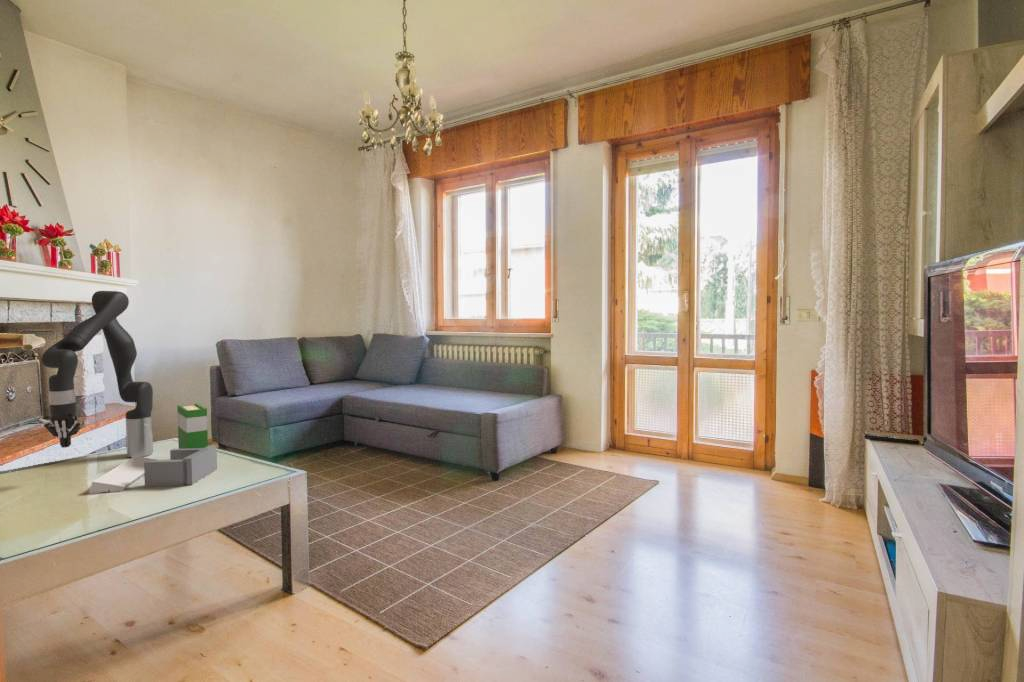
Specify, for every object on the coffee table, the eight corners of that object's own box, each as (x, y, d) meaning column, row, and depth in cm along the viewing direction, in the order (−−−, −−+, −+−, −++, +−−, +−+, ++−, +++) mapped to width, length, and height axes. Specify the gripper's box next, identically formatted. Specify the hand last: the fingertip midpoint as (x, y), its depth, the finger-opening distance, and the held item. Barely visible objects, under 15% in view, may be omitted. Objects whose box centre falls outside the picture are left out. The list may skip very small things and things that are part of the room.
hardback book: (179, 459, 219) (177, 405, 218) (198, 456, 224) (197, 403, 223) (187, 468, 206) (186, 411, 205) (208, 465, 212) (206, 408, 210)
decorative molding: (158, 471, 213) (131, 467, 210) (161, 460, 213) (134, 455, 210) (121, 499, 180) (88, 494, 177) (124, 486, 180) (92, 481, 177)
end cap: (174, 470, 204) (173, 446, 203) (217, 469, 205) (216, 445, 205) (144, 486, 185) (143, 459, 184) (192, 485, 186) (191, 458, 186)
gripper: (88, 399, 194) (91, 443, 195) (51, 400, 193) (54, 444, 194) (73, 403, 186) (76, 449, 188) (35, 404, 185) (38, 450, 186)
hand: (65, 446), depth 191 cm, fingers closed
